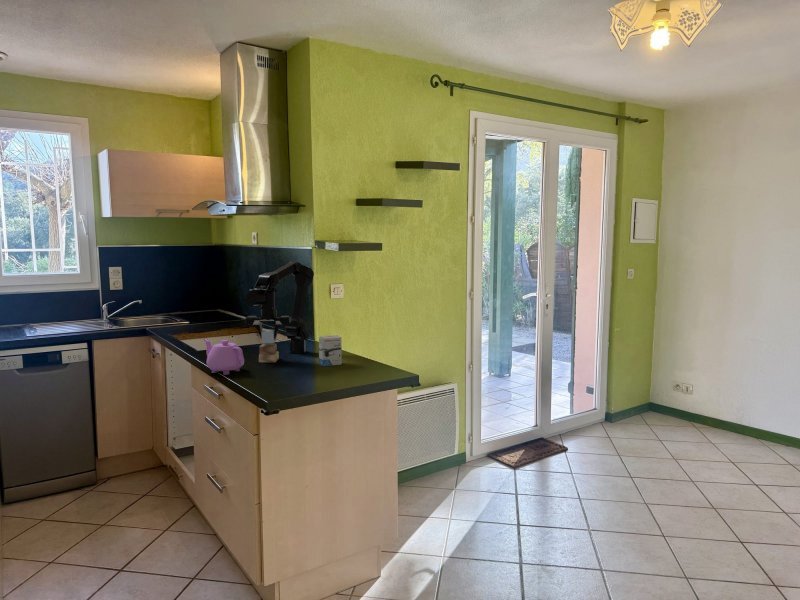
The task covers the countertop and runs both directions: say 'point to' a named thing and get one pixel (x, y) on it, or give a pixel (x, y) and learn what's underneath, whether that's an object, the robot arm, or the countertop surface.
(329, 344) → the ink box
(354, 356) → the countertop surface
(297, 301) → the robot arm
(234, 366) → the teapot
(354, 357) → the countertop surface
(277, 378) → the countertop surface
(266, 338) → the pale blue cube
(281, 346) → the countertop surface
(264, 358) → the oak base slab
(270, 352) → the walnut mid slab
